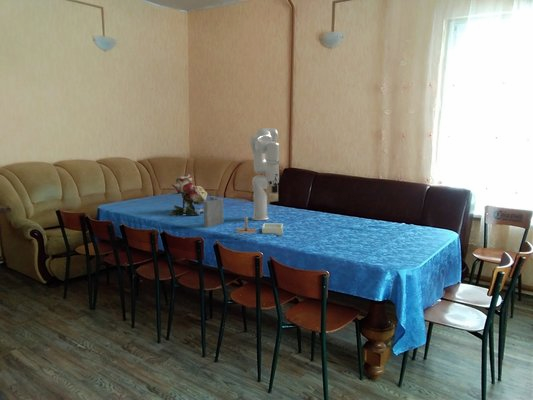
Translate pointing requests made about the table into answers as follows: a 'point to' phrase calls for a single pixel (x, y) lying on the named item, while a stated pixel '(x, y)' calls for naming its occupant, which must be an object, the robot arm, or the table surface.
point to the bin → (273, 228)
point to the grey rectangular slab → (213, 212)
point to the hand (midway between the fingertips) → (272, 191)
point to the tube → (271, 193)
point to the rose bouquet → (188, 196)
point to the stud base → (250, 230)
